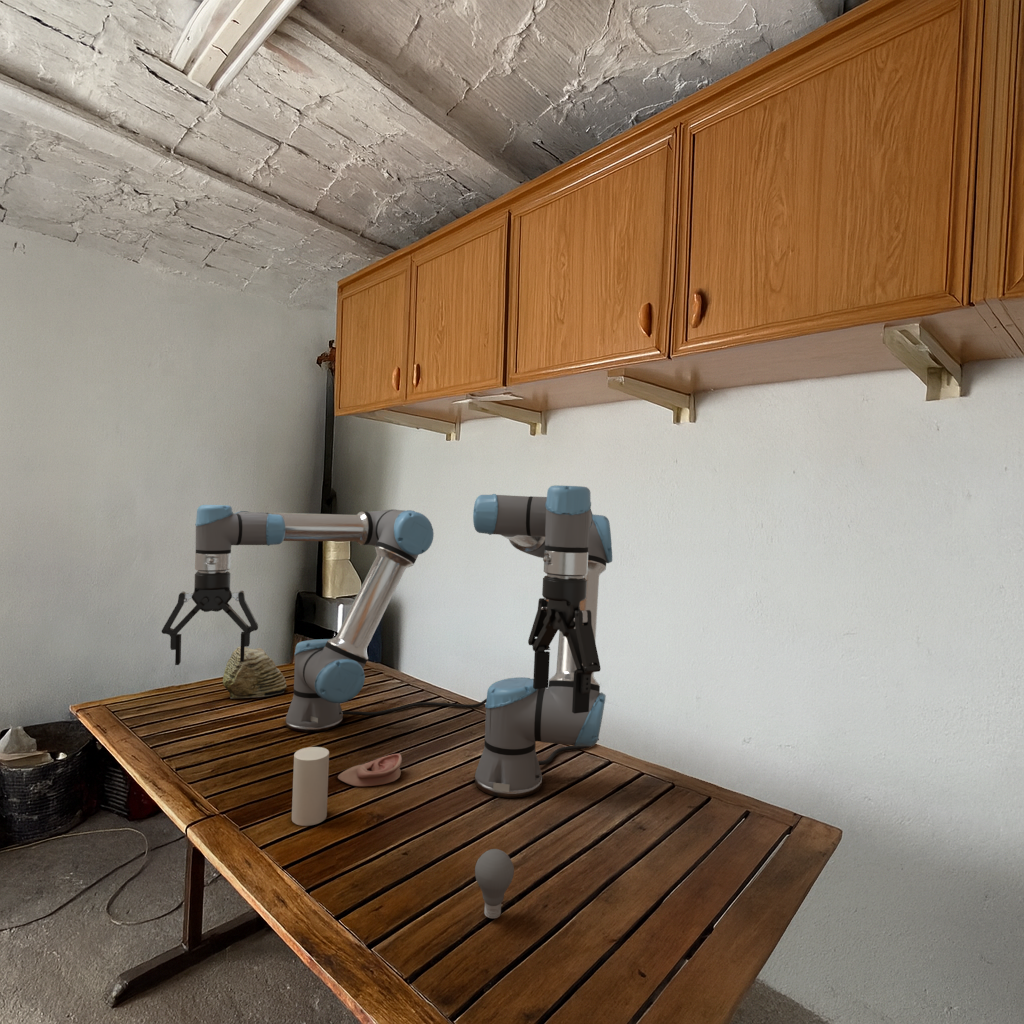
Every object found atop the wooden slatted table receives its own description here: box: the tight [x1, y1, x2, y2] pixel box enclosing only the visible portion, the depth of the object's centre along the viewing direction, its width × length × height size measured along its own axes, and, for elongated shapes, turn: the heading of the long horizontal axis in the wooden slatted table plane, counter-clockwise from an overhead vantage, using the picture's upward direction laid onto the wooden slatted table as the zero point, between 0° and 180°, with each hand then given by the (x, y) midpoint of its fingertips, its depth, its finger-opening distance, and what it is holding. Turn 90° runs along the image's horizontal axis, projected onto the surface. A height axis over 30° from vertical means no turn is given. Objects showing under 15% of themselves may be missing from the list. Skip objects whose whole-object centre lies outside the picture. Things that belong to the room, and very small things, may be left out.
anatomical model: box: [337, 753, 403, 787], centre depth 144 cm, size 13×4×12 cm
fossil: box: [222, 646, 288, 699], centre depth 198 cm, size 9×18×15 cm, turn 132°
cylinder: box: [291, 746, 330, 827], centre depth 125 cm, size 7×7×13 cm
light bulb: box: [474, 848, 515, 919], centre depth 98 cm, size 6×6×10 cm
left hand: (210, 662), depth 148 cm, fingers open, 13 cm apart
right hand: (559, 699), depth 109 cm, fingers open, 13 cm apart
